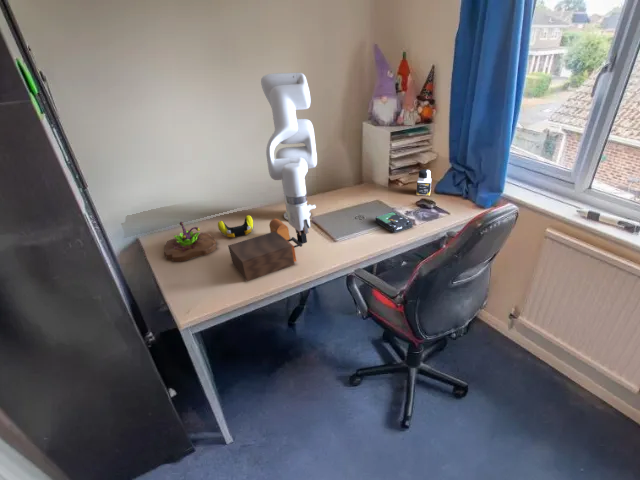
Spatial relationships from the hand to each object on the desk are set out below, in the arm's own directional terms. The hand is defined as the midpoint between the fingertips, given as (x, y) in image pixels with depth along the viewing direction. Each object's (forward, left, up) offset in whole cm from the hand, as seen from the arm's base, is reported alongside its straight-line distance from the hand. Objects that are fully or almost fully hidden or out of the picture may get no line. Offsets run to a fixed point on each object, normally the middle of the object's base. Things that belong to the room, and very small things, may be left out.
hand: (302, 242), depth 150 cm
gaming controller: (+15, -33, -4) cm, 37 cm away
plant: (+36, -31, -4) cm, 48 cm away
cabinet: (+17, 0, -4) cm, 18 cm away
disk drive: (-44, +3, -4) cm, 44 cm away
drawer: (+13, 0, -3) cm, 13 cm away
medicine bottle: (-80, -17, -4) cm, 81 cm away
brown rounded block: (+2, -17, -4) cm, 17 cm away
